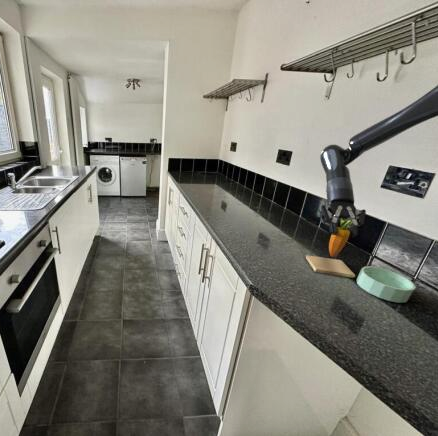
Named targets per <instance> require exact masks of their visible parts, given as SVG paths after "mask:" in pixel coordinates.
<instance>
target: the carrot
mask: <svg viewBox="0 0 438 436" xmlns="http://www.w3.org/2000/svg"><path fill="white" fill-rule="evenodd" d="M339 220H340V226H337V231H338V233H337V234H336V235H332V234H331V235H330V239H329V242H328V252H329V255H330V257H331V258H334V257H335V256H337V255H338V254H339V253H340V252H341V251H342V250H343V248H344V247H345V245H346V244H347V242H348V240H349V238H350V233H351V232H350V231H349V228H350V226H349V224H350V223H351V222H352V221H350V220H349V221H348V222H346V221H345V220H344V219H343V218H339Z"/></svg>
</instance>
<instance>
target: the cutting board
mask: <svg viewBox="0 0 438 436" xmlns="http://www.w3.org/2000/svg"><path fill="white" fill-rule="evenodd" d="M305 259H306V261H307V263H308V264H309V265H310V267H311V268H312V269H313V271H314V272H315V273H321V274H327V275H334V276H339V277H344V278H345V277H346V278H352V279H354V278H355V277H356V274H355V273H354V272H353V271H352V270H351V269H350V268H349V267H348V266H347V264H345V263H344V261H343V260H341V259H335V258H329V257H323V256H322V257H321V256H314V255H309V254H306V255H305Z"/></svg>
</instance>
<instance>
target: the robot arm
mask: <svg viewBox="0 0 438 436" xmlns="http://www.w3.org/2000/svg"><path fill="white" fill-rule="evenodd" d="M437 117H438V84H437V85H436V86H435V87H433V88H432V89H430V90H429V91H428V92H426V93H425V94H424V95H422V96H421V97H418V99H417V100H415V101H414V102H412V103H411V104H409V105H407V106H406V107H404V108H403V109H401V110H399V111H396V112H395V113H393V114H392V115H390V116H388V117H386V118H384V119H382V120H380V121H378V122H376V123H374V124H372V125H370V126H368V127H366V128H365V129H363V130H362V131H360V132H358V133H357V134H354V135H353V136H351V137H350V138H349V139H348V145H349V147H347V148H344V147H342V146H341V145H338V144H329V145H327V146H325V147H324V148H323V149H322V150H321V153H320V156H319V158H320V162H321V167H322V168H323V171H324V173H325V178H326V187H325V189H326V190H325V192H326V203H327V205H324V204H323V205H321V206H320V207H319V208H318V209H317V210H318V212H319V216H320V217H321V220H322V223H324V224H328V225H329V233H330V234H331V235H336V234H337V233H338V231H337V227H338V223H337V221H338V219H341V218H342V219H343V220H344V221H345V223H346V222H348V221H349V220H350V221H352V222H351V223H350V224H349V225H348V226H350V228H348V230H349V231H350V232H351V233H350V236H349V238H355V237H356V236H358V235H359V234H358V233H359V232H358V228H359V227H360V226H362V225H364V223H365V219H366V214H367V210H366V209H364V208H363V209H359V208H357V207H356V206H355V195H354V188H353V183H352V178H351V173H350V168H349V167H348V165H350V164H351V163H353V162H354V161H355V160H356V159H358V158H359V157H360V156H362V155H363V154H364V153H366V152H367V151H370V150H372V149H374V148H376V147H378V146H380V145H382V144H384V143H386V142H387V141H389V140H391V139H393V138H395V137H396V136H398V135H400V134H402V133H405V131H407V130H409V129H412V128H413V127H415V126H417V125H420V124H422V123H425V122H426V121H429V120H431V119H433V118H437ZM329 213H330V215H329ZM354 213H355V214H354Z"/></svg>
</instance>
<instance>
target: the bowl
mask: <svg viewBox="0 0 438 436" xmlns="http://www.w3.org/2000/svg"><path fill="white" fill-rule="evenodd" d="M356 284H357V285H358V286H359V287H360V288H361V289H362V290H364V291H365V292H367V293H368V294H370V295H373V296H374V297H377V298H379V299H382V300H385V301H387V302H393V303H399V304H401V303H407V302H408V301H409V300H410V298H411V297H412V295H413V294H414V292H415V290H416V288H417V286H416V285H415V283H414V282H413V281H412V280H410V279H409V278H408V277H405V276H404V275H402V274H400V273H398V272H395V271H392V270H390V269H386V268H382V267H379V266H374V265H373V266H372V265H369V266H366V265H365V266H363V267H362V268H361V269H360V271H359V273H358V275H357V278H356Z"/></svg>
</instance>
